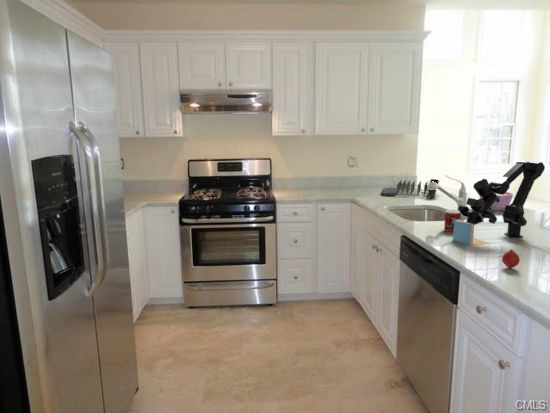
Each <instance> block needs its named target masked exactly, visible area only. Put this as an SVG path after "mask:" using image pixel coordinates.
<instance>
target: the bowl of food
mask: <svg viewBox="0 0 550 413" xmlns="http://www.w3.org/2000/svg"><path fill="white" fill-rule="evenodd" d="M496 195H497V196H499V200H500V202H494V204H493V205H492V206H491V207H490V208H491V210H490V212H501V211H504V209H505V207H506V205H510V204H511V202H512V199H513V197H514V194H513V193H512V192H510V191H509V192H508V191H507V192H506V193H505V194H503V195H501V194H496ZM481 198H482V197H481V196H479V199H481Z"/></svg>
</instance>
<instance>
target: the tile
mask: <svg viewBox="0 0 550 413" xmlns="http://www.w3.org/2000/svg"><path fill="white" fill-rule="evenodd" d="M474 232H475V225H474V224H471V223H468V222H467V221H463V220H461V221H460V220H454V232H452V234H453V235H452V239H453V240H452V241H454V242H457V243H460V244H463V245H466V246H469V245H473V238H474Z"/></svg>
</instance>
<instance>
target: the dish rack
mask: <svg viewBox="0 0 550 413" xmlns="http://www.w3.org/2000/svg"><path fill="white" fill-rule="evenodd" d="M402 181H403V180H402V179H400V180H399V181H398V182H397V184H396V186H395V185H393V186H392V185H389V187H386V186H384V187H382V189H381V192H380V193H381V194H383V195H386V197H388V195H389V197H392V196H409V197H417V199H420V197H428V198H434V197H435V196H436V193H437V190H430V189H429V188H428V187H429V186H428V185H429V183H430V182H432V181H434V182H436V183H437V184H438V185H439V183H440V180H439V179H436V178H435V179H433V178H432V179H430V180H429V182H428V181H426V183H425V184H424V186H423V187H424V188H423V189H422V180H420V181H419V182H418V183H417V188H416V189H415V186H416V184H415V183H416V182H415V180H413V181H412V183H411V180H408V181H407V179H405V180H404V181H403V182H402ZM404 191H405V193H403V192H404ZM420 193H421V194H420ZM426 194H427V195H426Z"/></svg>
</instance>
